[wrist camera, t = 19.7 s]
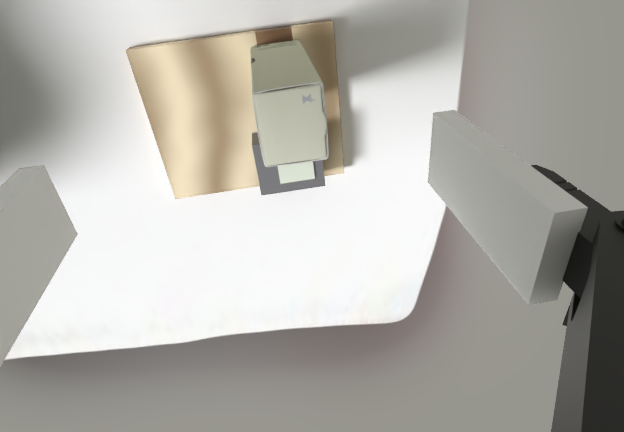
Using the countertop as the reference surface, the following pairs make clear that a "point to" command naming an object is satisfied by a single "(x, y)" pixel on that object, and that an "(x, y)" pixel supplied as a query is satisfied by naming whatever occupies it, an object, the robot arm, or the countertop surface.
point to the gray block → (286, 173)
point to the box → (288, 104)
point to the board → (222, 104)
